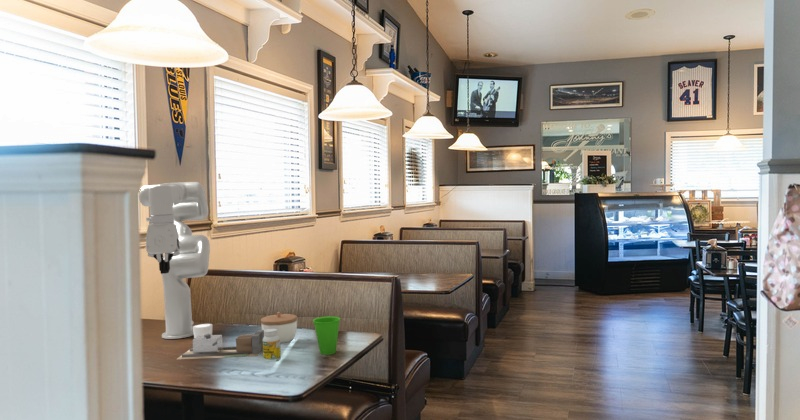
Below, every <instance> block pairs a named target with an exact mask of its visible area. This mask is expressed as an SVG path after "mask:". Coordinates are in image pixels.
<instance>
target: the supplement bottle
mask: <svg viewBox="0 0 800 420" xmlns="http://www.w3.org/2000/svg"><path fill="white" fill-rule="evenodd" d="M264 335H265V337H264V338H263V350H262V354H263V359H266V360H267V359H268V360H272V359H276V362H279V361H280V360H281V358H282V353H281V343H280V337H279V336H278V335H277V329H267V330H265V331H264Z"/></svg>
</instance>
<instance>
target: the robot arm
mask: <svg viewBox="0 0 800 420" xmlns="http://www.w3.org/2000/svg"><path fill="white" fill-rule="evenodd" d="M140 189H141V191H140V190H139V191H140V194H139V193H138V199H139V202H140V203H141V205H142V206H144V207H149V217H146V222H149V224H148V225H147V229H146V235H145V236H146V239H145V247H146V248H145V252H146V253H147V257H149V258H154V259H155V260H156V261H157V263H158V270H159V271H160V274H161V278H162V284H163V285H162V286H163V298H164V299H163V301H164V302H163V303H164V319H165V332H162V334H161V338H162V339H166V340H177V339H183V338H190V337H194V333H193V325H194V323H195V322H194V320H193V316H192V300H191V299H192V298H191V296H192V294H191V288H190V286H189V285H188V283H187V282H186V281H185V280H184V279H191V278H202V277H204V276H206V275H207V274H208V272H209V266H210V264H209V263H210V253H211V252H210V251H211V246H210V245H211V244H210V241H209V239H208V237H207V236H206V235H204V234H203V235H202V234H193V232H192V229H191V228H190V227H189V226H188V225H187V224H186V223H185V222H183V221H186V222H187V221H202V220H206V218H207V217H208V216H209V206H208V200H207V196H206V195H207V194H206V192H205V189H204V186H203V185H202V183H200V182H198V181H185V182H184V181H183V182H182V181H181V182H178V181H177V182H176V181H175V182H166V183H158V184H150V185H149V184H148V185H143V186H141V188H140Z"/></svg>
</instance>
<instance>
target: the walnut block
mask: <svg viewBox="0 0 800 420" xmlns="http://www.w3.org/2000/svg"><path fill="white" fill-rule="evenodd" d="M253 334H254V333H253ZM253 334H252V333H251V334H250V333H249V334H240V335H238V336H237V337H236V338H235V347H236V351H237V352H246V351H250V353H252V335H253Z"/></svg>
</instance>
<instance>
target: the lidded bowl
mask: <svg viewBox="0 0 800 420" xmlns="http://www.w3.org/2000/svg"><path fill="white" fill-rule="evenodd" d="M260 325H261V330H264V331H265V330H267V329H277V335H278V336H279V337H280V344H283V343H287V342H290V341H292V340H293V339H294V337H295V336H296V334H297V330H298V316H297V315H296V314H292V313H281V311H277V312H276V314H271V315H267V316H266V315H265V316H263V317H262V318H260ZM264 337H265V335H264Z"/></svg>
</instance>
